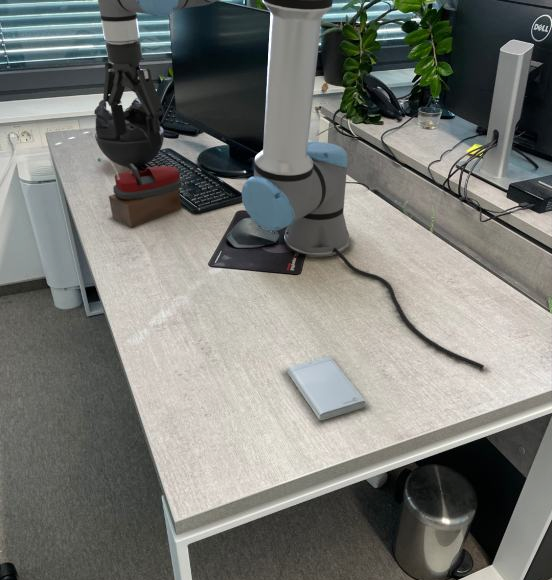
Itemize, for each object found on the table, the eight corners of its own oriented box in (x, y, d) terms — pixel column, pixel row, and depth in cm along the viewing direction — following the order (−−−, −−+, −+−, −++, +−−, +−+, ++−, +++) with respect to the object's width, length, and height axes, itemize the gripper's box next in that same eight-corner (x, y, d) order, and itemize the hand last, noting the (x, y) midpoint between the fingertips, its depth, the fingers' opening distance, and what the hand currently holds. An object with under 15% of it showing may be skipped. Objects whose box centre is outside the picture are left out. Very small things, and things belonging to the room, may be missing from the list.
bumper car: (188, 189, 147) (184, 150, 141) (111, 206, 140) (103, 165, 133) (173, 176, 154) (169, 138, 148) (99, 191, 146) (91, 152, 140)
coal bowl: (180, 161, 179) (174, 97, 168) (136, 182, 166) (125, 115, 154) (133, 149, 188) (123, 88, 176) (87, 169, 174) (73, 104, 163)
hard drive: (365, 400, 92) (330, 354, 101) (319, 414, 90) (287, 366, 99) (364, 407, 93) (329, 362, 102) (319, 421, 91) (287, 374, 100)
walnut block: (181, 207, 153) (178, 185, 149) (131, 227, 144) (127, 205, 140) (162, 199, 157) (159, 177, 154) (112, 218, 148) (108, 196, 144)
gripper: (172, 45, 121) (183, 146, 134) (104, 32, 135) (120, 125, 148) (144, 51, 117) (158, 155, 130) (76, 37, 130) (95, 132, 143)
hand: (138, 139), depth 139 cm, fingers open, 13 cm apart
